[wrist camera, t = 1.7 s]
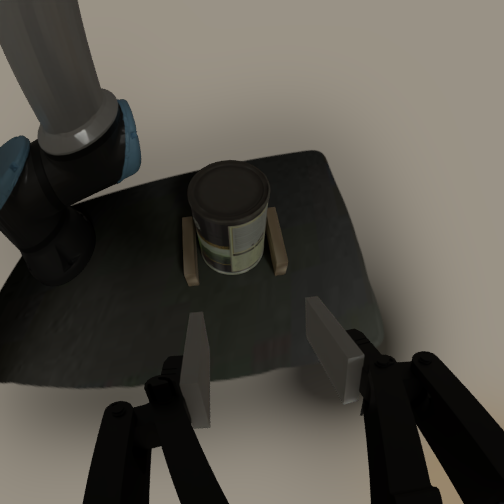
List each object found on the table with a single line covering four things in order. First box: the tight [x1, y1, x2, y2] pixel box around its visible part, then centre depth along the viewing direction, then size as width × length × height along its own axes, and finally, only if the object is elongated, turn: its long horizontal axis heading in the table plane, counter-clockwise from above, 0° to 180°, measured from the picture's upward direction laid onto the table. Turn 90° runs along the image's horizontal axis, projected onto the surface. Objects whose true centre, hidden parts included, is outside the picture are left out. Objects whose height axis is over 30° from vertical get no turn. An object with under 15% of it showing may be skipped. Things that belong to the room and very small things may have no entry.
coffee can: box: [187, 160, 270, 275], centre depth 43 cm, size 10×10×14 cm
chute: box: [182, 207, 288, 286], centre depth 46 cm, size 15×10×4 cm
